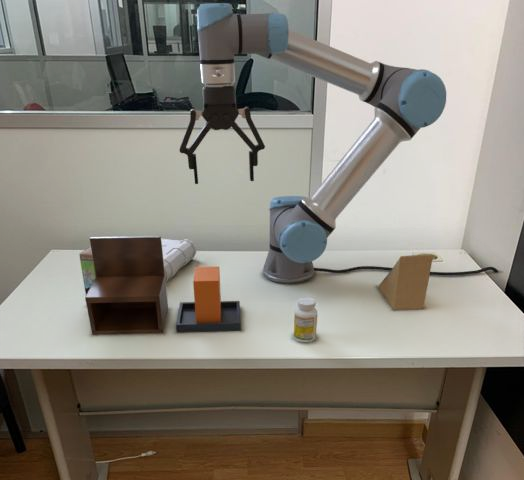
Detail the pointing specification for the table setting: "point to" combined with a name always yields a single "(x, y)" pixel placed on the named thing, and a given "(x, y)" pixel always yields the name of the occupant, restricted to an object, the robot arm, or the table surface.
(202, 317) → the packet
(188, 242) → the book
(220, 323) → the tray
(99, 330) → the shelf
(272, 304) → the table surface
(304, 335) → the supplement bottle
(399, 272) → the sandwich container
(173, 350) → the table surface
